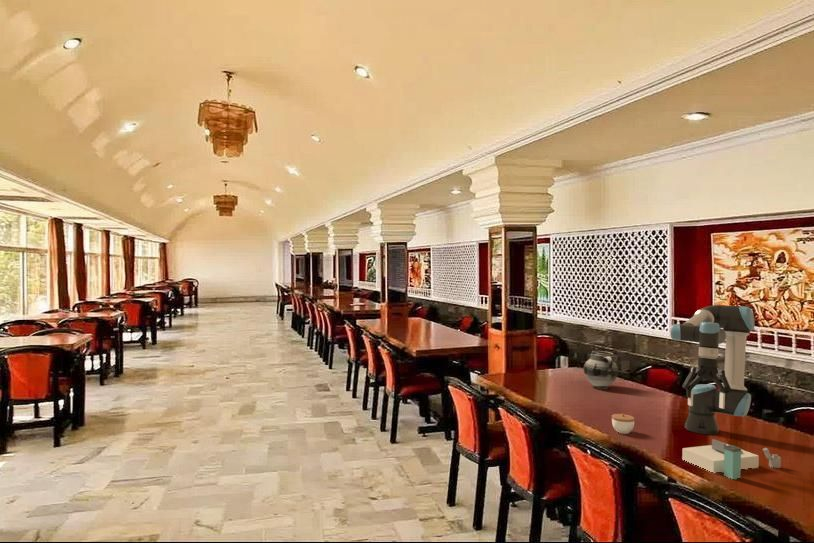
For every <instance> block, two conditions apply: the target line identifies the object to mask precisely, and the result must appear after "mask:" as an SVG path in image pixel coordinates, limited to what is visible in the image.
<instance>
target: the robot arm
mask: <svg viewBox="0 0 814 543" xmlns="http://www.w3.org/2000/svg"><path fill="white" fill-rule="evenodd" d="M755 323H756V322H755V316H754V312H753V310H752V309H751V307H749V306H742V305H723V304H722V305H721V304H713V305H708V306H705V307H702V308H700V309H698V310H697V311H695V313H693V315H692V317H690V318H689V319H688V320H686V321H685V322H683V323H682V324H679V323H677V324H676V323H673V324H672V325H671V326H670V331H669V332H670V333H669V334H670V338H671V340H674V341H679V342H690V343H698V360H697V365H698V366H697V368H696V367H693V366H692V367H690V370H689V373H688V375H687V376H686V378H685V380H684V382H683V383H682V385H681V388H683V389H685V390H686V392H685V393H686V395H685V396H686V398H687V405H688V415H687V418H686V421H685V423H684V428H686V429H685V430H687V431H688V432H689V431H690V432H692V433H696V434H702V435H716V434H717V435H718V434H719V430H720V429H719V425H718V423H717V418H716V413H718V414H723V415H729V416H734V417H745V416H747V414H748V412H749V410H750V407H751V401H752V394H751V393H749V392H748V388H747V387H746V386H745V369H746V367H745V366H746V347H747V346H746V345H747V337H748V336H749V335H750V334H751V332H752V331H754V330H755ZM724 342H725V352H724V353H725V354H724V370H723V369H718V366H719V359H717V358H719V348H720V347H719V345H720V344H724ZM697 373H698V374H697ZM696 374H697V375H696ZM717 375H719V377H720V379H721V381H720V380H719V377H718V376H717ZM694 377H695V378H694ZM701 380H712V381H713V383H714V384H715V385H714V384H711V383H710V384H709V383H707V384H706V383H705V384H701V383H700V384H699V382H701ZM716 386H717V387H716Z"/></svg>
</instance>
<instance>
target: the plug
mask: <svg viewBox="0 0 814 543" xmlns="http://www.w3.org/2000/svg"><path fill="white" fill-rule="evenodd" d="M741 449H742V448H741V447H738V446H736V445H733V444H728V446H724V472H723V477H725V476H726V477H725V478H727V477H728V478H727V479H730V478H731V479H730V480H732V479H734V480H738V479H737V478H740V479H741V471H742V470H741Z"/></svg>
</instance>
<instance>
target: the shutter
mask: <svg viewBox="0 0 814 543" xmlns="http://www.w3.org/2000/svg"><path fill="white" fill-rule="evenodd" d="M726 444H727V443H726V442H723V441H721V440H717V439H715V438H713V439H711V445H712V449H714V450H717V451H719V452H722V453H724V446H727V445H726ZM741 453H743V451H741Z"/></svg>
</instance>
